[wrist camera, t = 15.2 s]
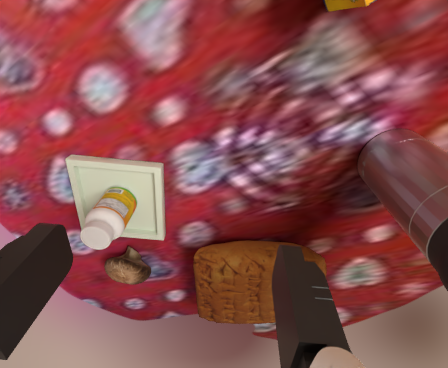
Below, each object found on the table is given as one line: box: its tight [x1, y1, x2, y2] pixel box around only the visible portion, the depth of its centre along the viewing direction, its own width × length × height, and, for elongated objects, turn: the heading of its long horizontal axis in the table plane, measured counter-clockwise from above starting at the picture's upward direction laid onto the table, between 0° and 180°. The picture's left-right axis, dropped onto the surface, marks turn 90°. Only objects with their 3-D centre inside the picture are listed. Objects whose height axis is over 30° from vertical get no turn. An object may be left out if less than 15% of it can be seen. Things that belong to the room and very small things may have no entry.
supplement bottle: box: [80, 185, 138, 250], centre depth 40 cm, size 5×5×10 cm
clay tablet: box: [193, 241, 327, 324], centre depth 48 cm, size 22×17×8 cm
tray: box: [65, 155, 166, 240], centre depth 44 cm, size 14×14×2 cm
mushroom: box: [104, 246, 151, 284], centre depth 50 cm, size 8×8×6 cm
